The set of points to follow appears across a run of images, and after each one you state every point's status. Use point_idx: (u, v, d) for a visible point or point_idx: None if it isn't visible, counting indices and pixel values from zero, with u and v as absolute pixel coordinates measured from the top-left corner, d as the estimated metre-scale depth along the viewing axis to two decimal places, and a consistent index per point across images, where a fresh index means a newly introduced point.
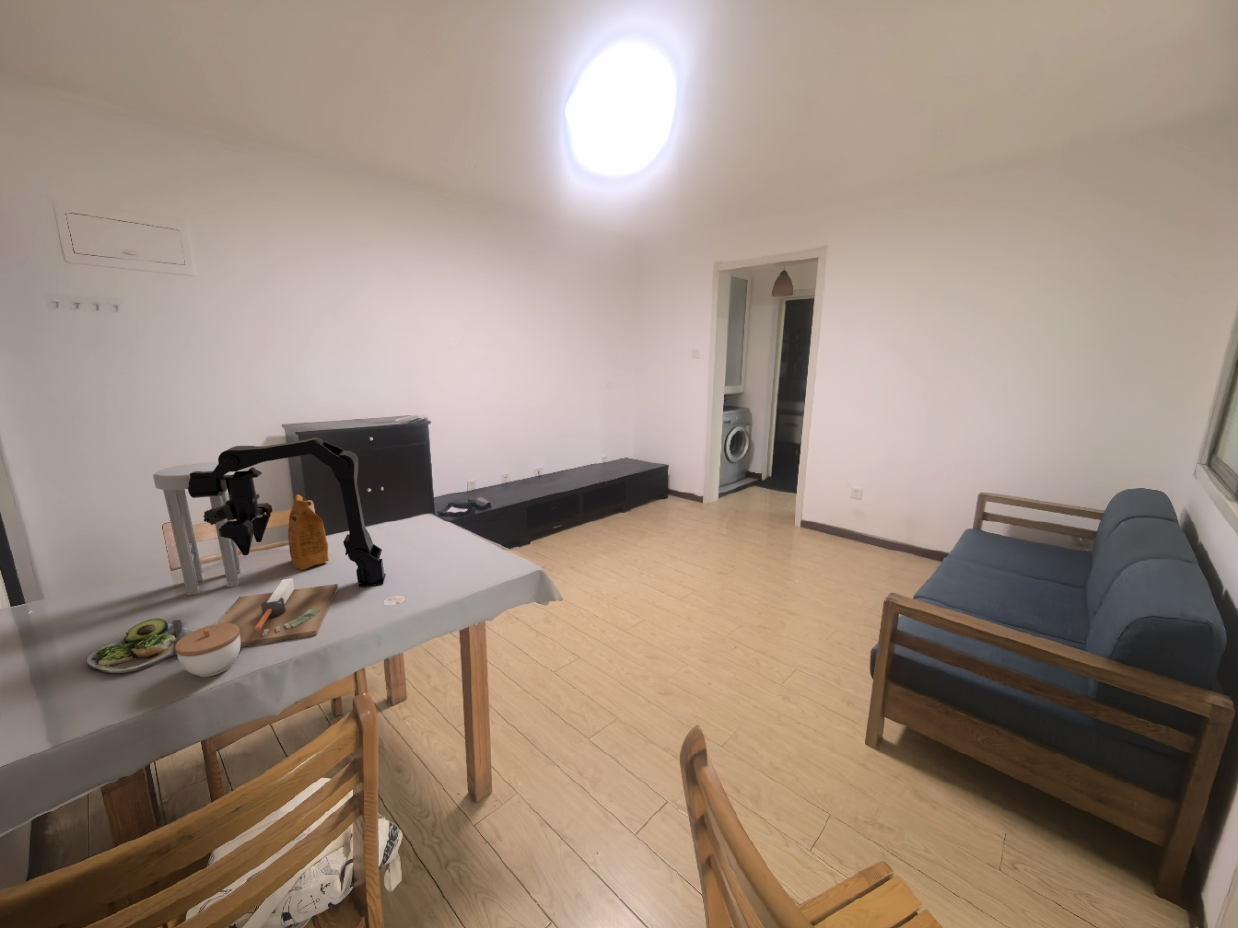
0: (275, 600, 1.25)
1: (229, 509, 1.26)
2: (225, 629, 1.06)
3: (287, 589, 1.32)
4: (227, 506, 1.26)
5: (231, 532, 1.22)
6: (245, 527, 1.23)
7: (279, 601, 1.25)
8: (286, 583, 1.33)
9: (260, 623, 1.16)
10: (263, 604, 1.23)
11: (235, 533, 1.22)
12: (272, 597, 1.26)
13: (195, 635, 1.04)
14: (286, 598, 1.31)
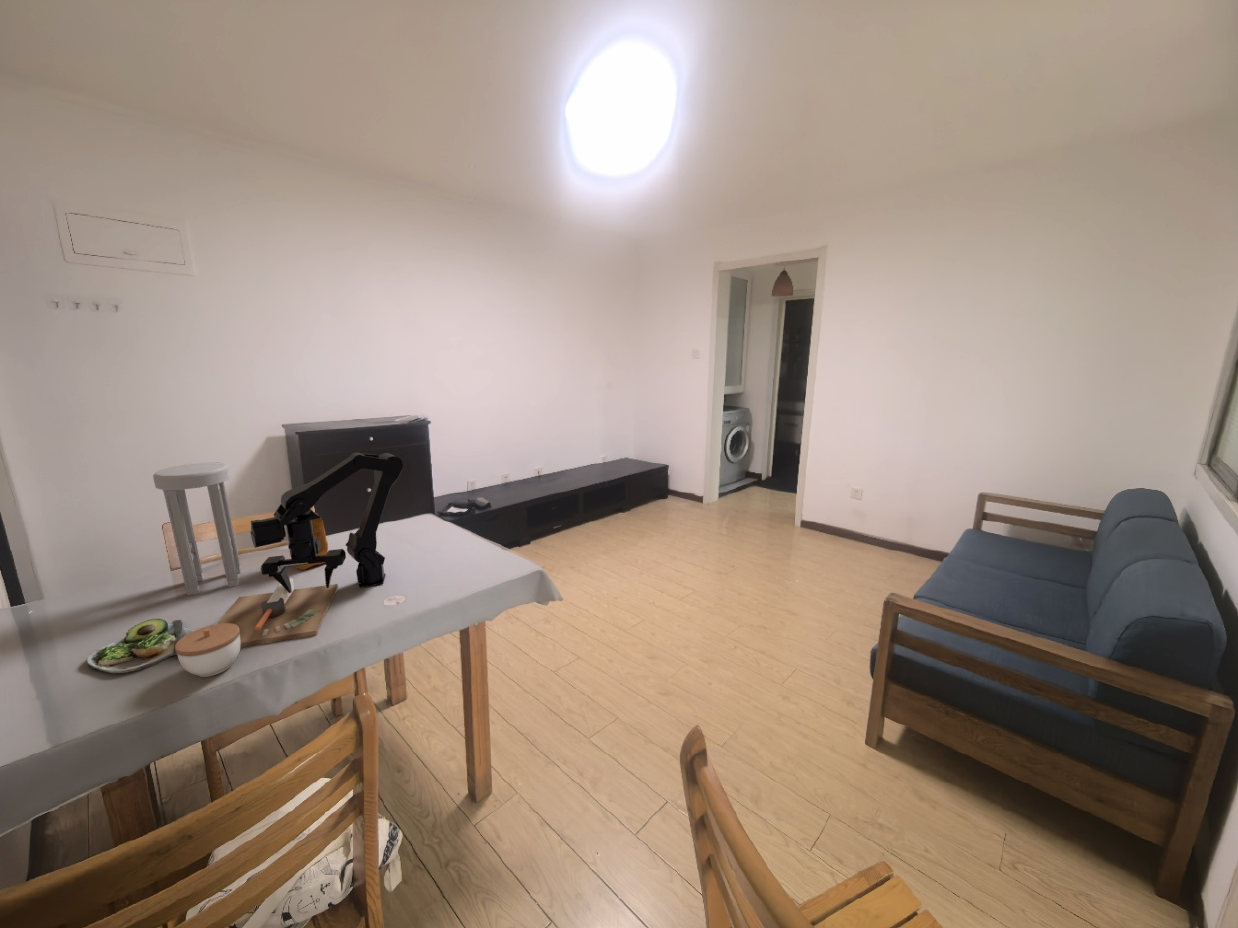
0: (275, 600, 1.25)
1: None
2: (225, 629, 1.06)
3: None
4: None
5: None
6: (261, 568, 1.25)
7: (279, 601, 1.25)
8: None
9: (260, 623, 1.16)
10: (263, 604, 1.23)
11: None
12: (272, 597, 1.26)
13: (195, 635, 1.04)
14: (286, 598, 1.31)
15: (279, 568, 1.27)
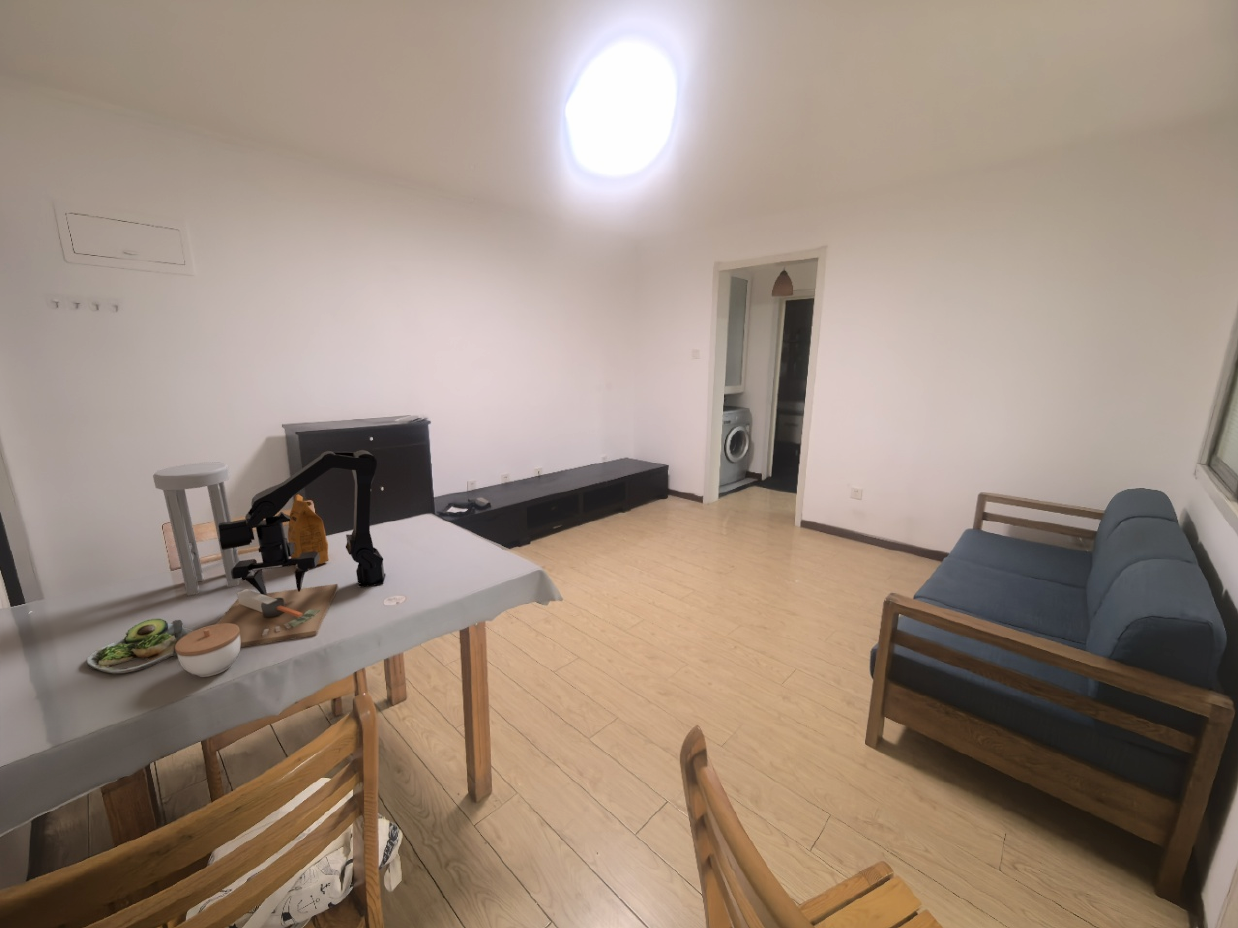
0: (273, 600, 1.25)
1: None
2: (225, 629, 1.06)
3: None
4: None
5: None
6: (231, 572, 1.23)
7: (279, 599, 1.25)
8: (250, 592, 1.28)
9: (297, 612, 1.21)
10: (266, 606, 1.22)
11: None
12: (263, 600, 1.24)
13: (195, 635, 1.04)
14: None
15: (252, 571, 1.26)
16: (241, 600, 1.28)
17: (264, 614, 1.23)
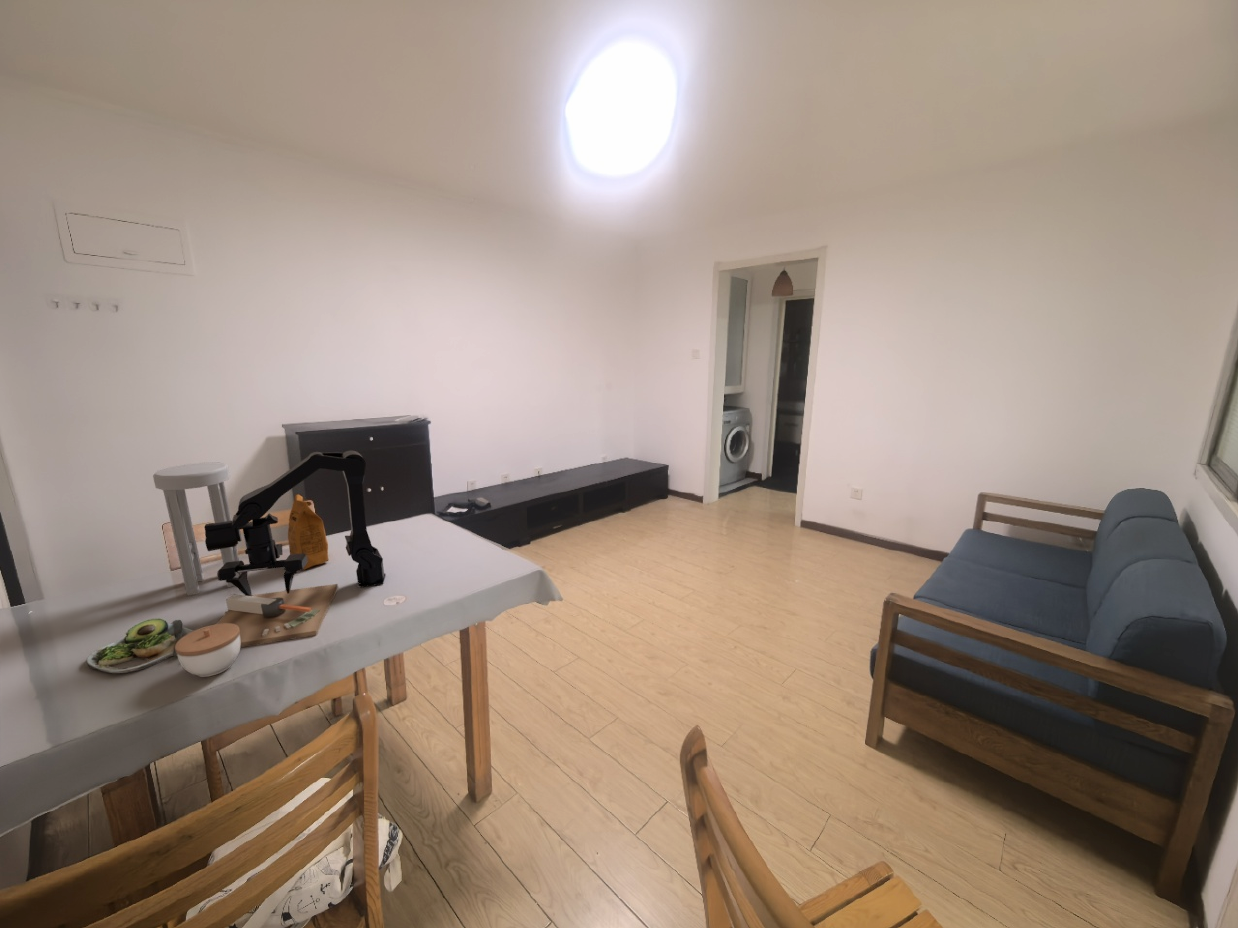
0: (272, 600, 1.25)
1: None
2: (225, 629, 1.06)
3: None
4: None
5: None
6: (218, 573, 1.22)
7: (278, 599, 1.26)
8: (241, 596, 1.26)
9: (304, 607, 1.23)
10: (268, 606, 1.22)
11: None
12: (262, 601, 1.24)
13: (195, 635, 1.04)
14: None
15: (237, 574, 1.25)
16: (231, 605, 1.25)
17: (266, 614, 1.22)
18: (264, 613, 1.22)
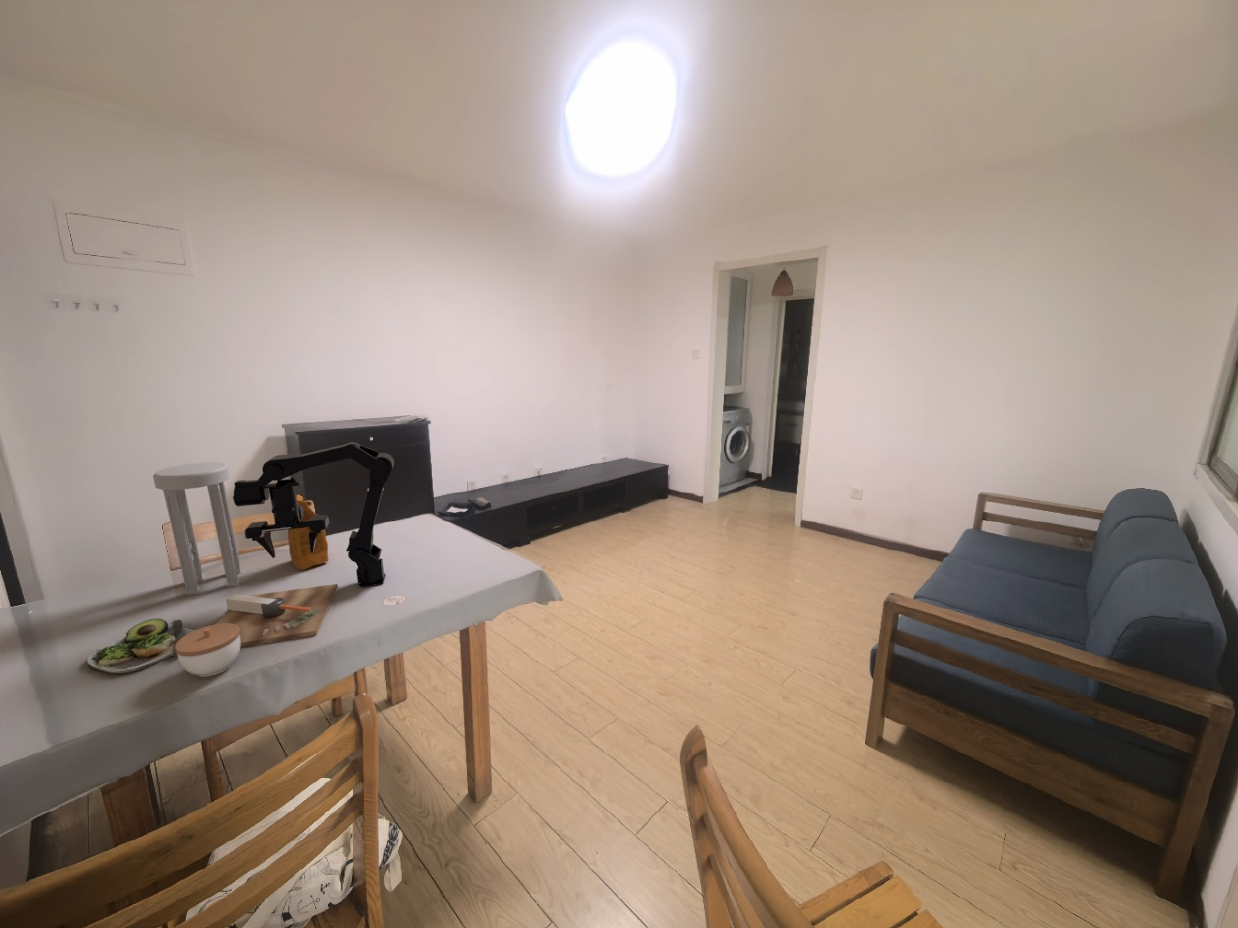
0: (272, 600, 1.25)
1: None
2: (225, 629, 1.06)
3: None
4: None
5: None
6: (245, 532, 1.28)
7: (278, 599, 1.26)
8: (241, 596, 1.26)
9: (304, 607, 1.23)
10: (268, 606, 1.22)
11: None
12: (262, 601, 1.24)
13: (195, 635, 1.04)
14: None
15: (262, 532, 1.30)
16: (231, 605, 1.25)
17: (266, 614, 1.22)
18: (264, 613, 1.22)
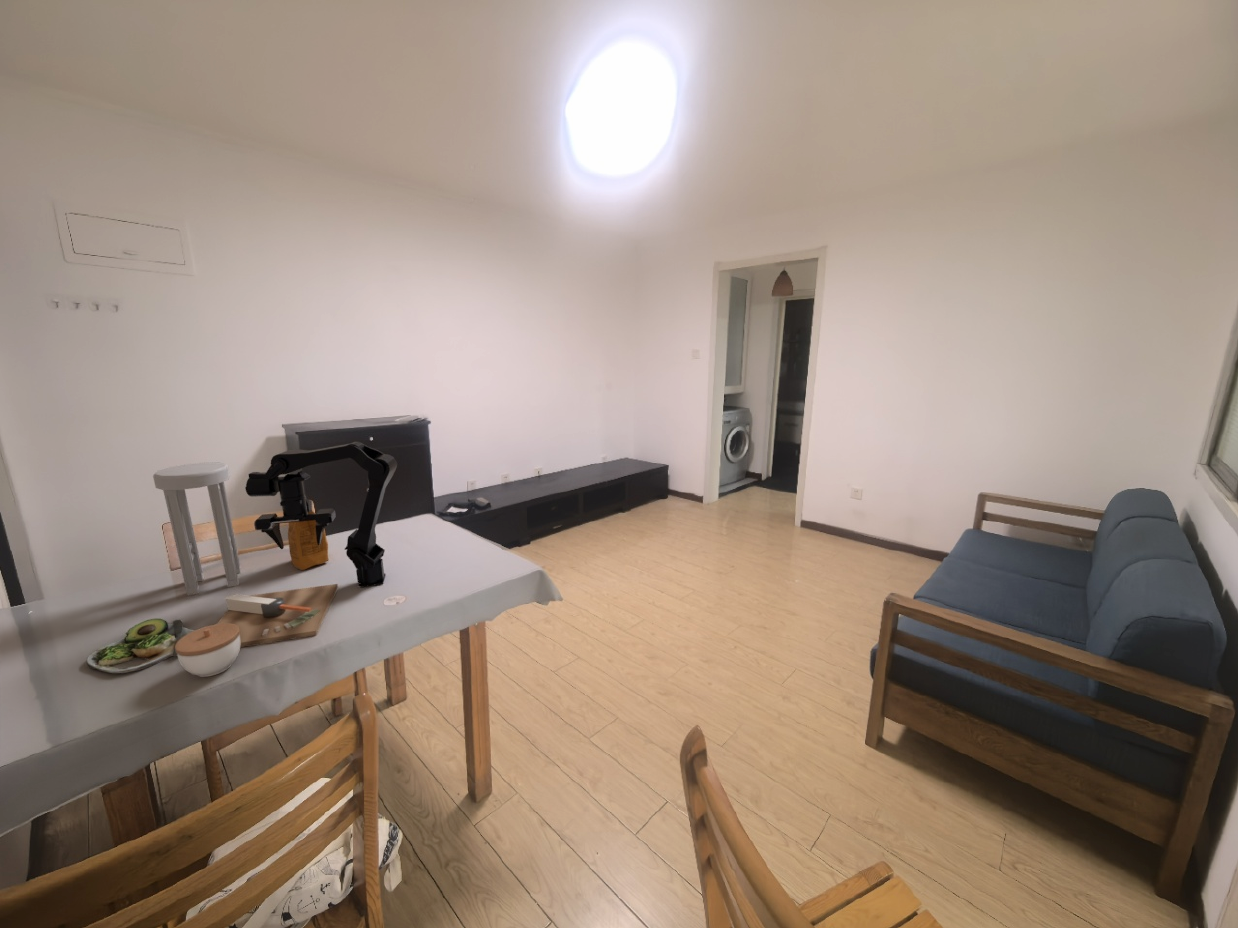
0: (272, 600, 1.25)
1: None
2: (225, 629, 1.06)
3: None
4: None
5: None
6: (255, 523, 1.32)
7: (278, 599, 1.26)
8: (241, 596, 1.26)
9: (304, 607, 1.23)
10: (268, 606, 1.22)
11: None
12: (262, 601, 1.24)
13: (195, 635, 1.04)
14: None
15: (271, 524, 1.34)
16: (231, 605, 1.25)
17: (266, 614, 1.22)
18: (264, 613, 1.22)
